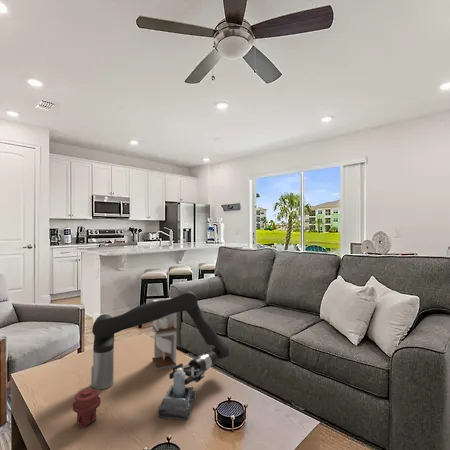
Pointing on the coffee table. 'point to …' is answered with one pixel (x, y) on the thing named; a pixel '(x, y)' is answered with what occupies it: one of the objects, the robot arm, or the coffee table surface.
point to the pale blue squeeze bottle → (179, 384)
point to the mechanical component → (86, 406)
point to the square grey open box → (177, 405)
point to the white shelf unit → (165, 341)
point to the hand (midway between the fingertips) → (177, 379)
